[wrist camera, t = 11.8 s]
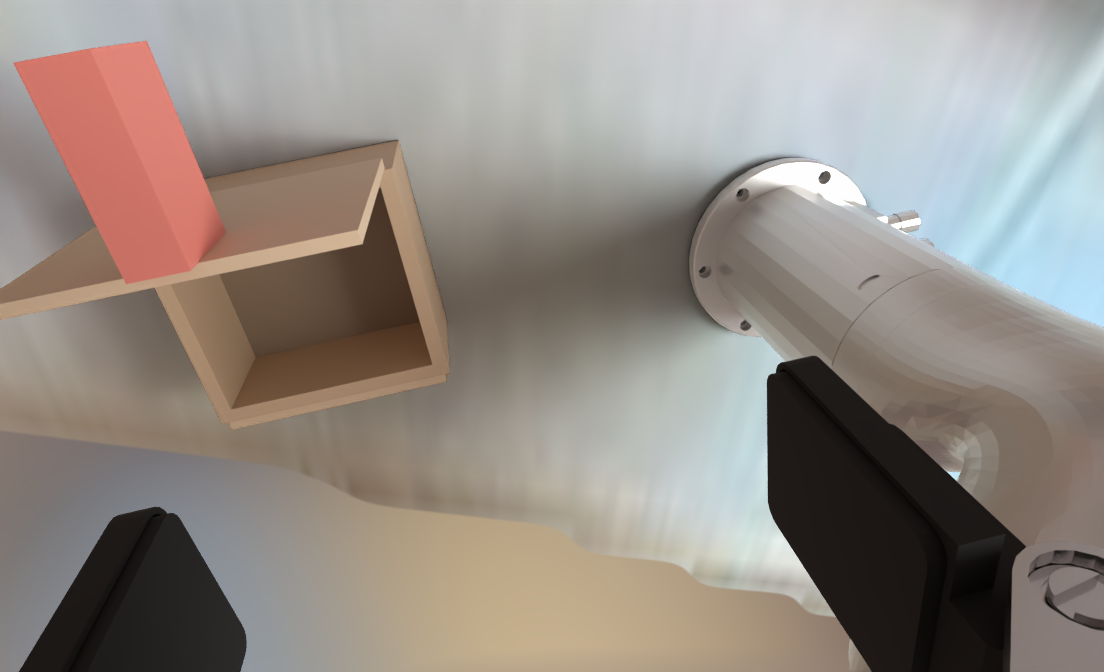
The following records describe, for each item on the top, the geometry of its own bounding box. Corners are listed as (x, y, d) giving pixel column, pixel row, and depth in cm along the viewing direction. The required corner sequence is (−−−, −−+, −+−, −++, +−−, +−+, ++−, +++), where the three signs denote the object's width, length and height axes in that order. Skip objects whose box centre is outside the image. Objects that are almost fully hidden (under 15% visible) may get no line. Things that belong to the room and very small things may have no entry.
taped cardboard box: (384, 168, 32) (339, 8, 29) (360, 251, 21) (284, 12, 18) (123, 220, 31) (46, 63, 28) (-38, 334, 21) (-192, 100, 17)
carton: (398, 140, 39) (392, 168, 33) (449, 327, 45) (451, 381, 39) (172, 185, 38) (122, 222, 32) (254, 370, 44) (226, 432, 38)
